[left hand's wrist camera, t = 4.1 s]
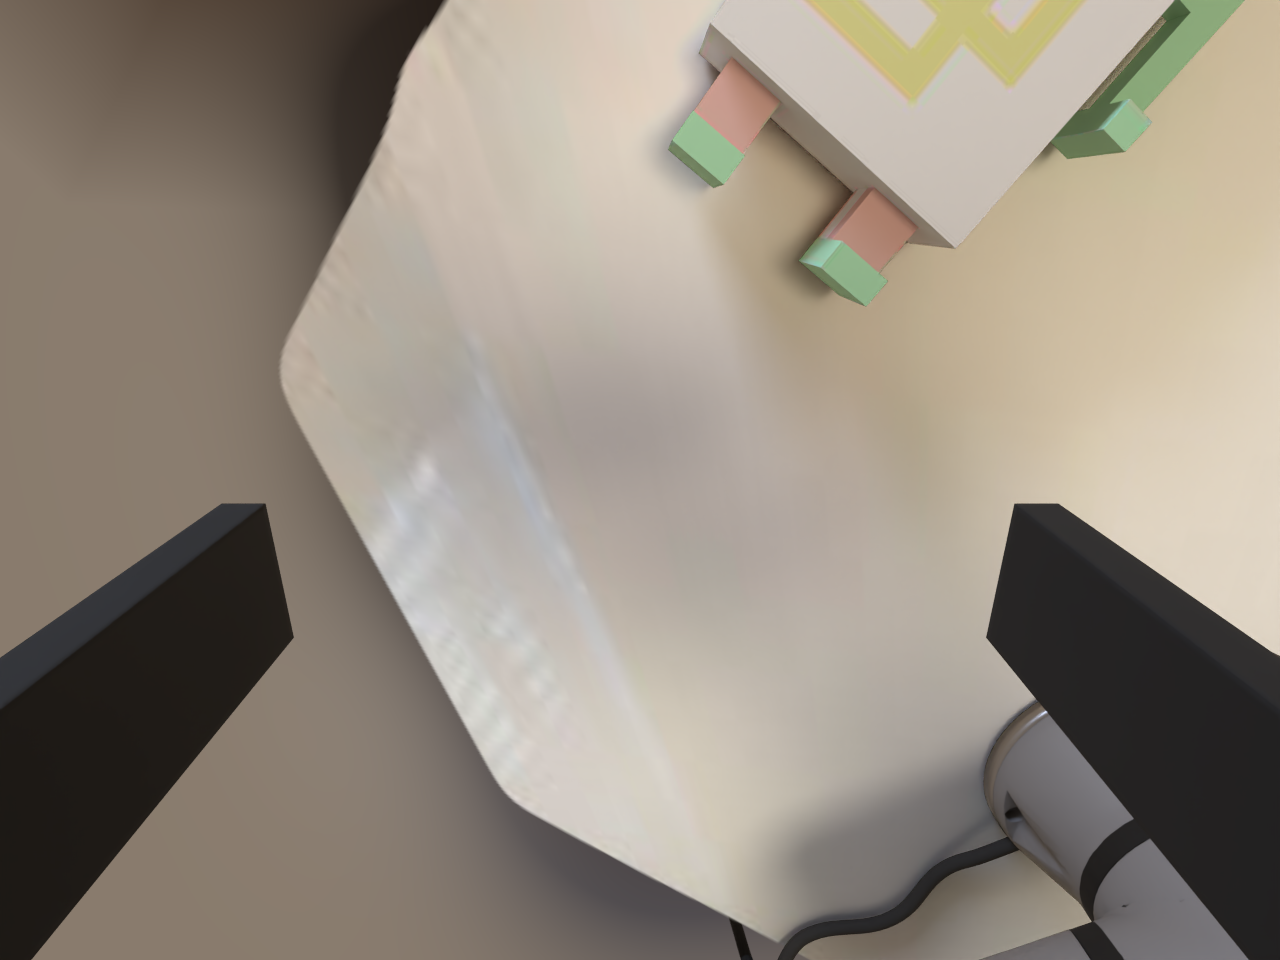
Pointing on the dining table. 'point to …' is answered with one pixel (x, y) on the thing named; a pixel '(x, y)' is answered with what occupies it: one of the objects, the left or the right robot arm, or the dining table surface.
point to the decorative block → (930, 103)
